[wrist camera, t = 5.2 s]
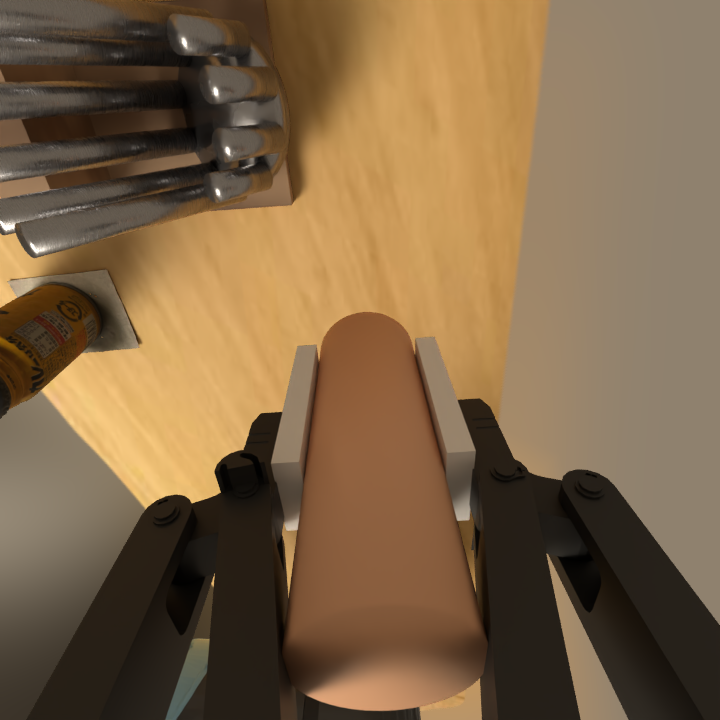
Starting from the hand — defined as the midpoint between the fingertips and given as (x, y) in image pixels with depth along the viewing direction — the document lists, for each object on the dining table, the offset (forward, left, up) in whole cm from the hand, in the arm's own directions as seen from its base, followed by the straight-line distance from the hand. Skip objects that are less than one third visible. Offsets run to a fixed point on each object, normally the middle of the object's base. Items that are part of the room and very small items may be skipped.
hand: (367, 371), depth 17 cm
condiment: (-5, +25, -20) cm, 32 cm away
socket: (+9, +12, -19) cm, 24 cm away
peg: (0, 0, -1) cm, 1 cm away
